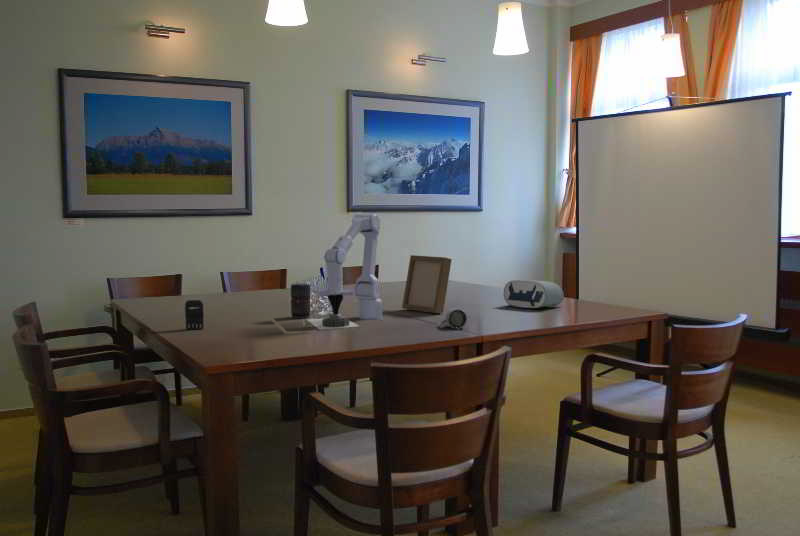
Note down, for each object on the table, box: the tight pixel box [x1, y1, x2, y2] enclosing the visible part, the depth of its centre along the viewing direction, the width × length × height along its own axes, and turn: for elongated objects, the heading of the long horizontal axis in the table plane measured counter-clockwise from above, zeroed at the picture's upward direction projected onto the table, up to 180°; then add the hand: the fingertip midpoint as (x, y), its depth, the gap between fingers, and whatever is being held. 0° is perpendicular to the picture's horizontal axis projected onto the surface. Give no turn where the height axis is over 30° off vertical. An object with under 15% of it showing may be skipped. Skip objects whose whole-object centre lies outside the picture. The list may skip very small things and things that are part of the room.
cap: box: [328, 313, 343, 321], centre depth 266 cm, size 5×5×4 cm
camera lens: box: [290, 283, 311, 320], centre depth 285 cm, size 8×8×15 cm
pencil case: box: [503, 279, 565, 309], centre depth 322 cm, size 22×19×13 cm
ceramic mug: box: [437, 307, 468, 330], centre depth 265 cm, size 11×8×8 cm
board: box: [305, 316, 361, 332], centre depth 272 cm, size 16×24×3 cm, turn 19°
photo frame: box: [401, 254, 453, 315], centre depth 309 cm, size 15×22×25 cm
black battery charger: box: [184, 299, 205, 330], centre depth 263 cm, size 7×4×11 cm, turn 106°
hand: (335, 314), depth 266 cm, fingers closed
